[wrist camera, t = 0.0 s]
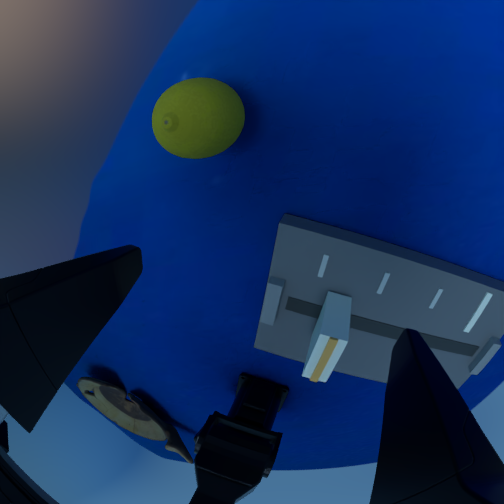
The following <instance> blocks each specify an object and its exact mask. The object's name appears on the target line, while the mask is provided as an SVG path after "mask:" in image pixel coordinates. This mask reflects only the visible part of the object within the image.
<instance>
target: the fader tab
mask: <svg viewBox="0 0 504 504" xmlns="http://www.w3.org/2000/svg"><path fill="white" fill-rule="evenodd" d="M351 301H352V298H351V297H348V296H344V295H341V294H337V293H334V292H330V291H328V293H327V296H326V299H325V302H324V304H323V307H322V310H321V313H320V315H319V318H318V320H317V323H316V326H315V328H314V331H313V333H312V337H311V341H310V346H309V350H308V354H307V358H306V361H305V365H304V369H303V373H302V376H303V377H307V378H310V381H314V382H317V381H322V382H326V381H327V379H328V378H329V376H330V374H331V372H332V371H333V369H334V367H335V365H336V363H337V362H338V360H339V358H340V356H341V354H342V352H343V350H344V349H345V347H346V345H347V343H348V339H349V328H350V316H351Z"/></svg>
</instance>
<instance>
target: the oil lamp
mask: <svg viewBox="0 0 504 504" xmlns="http://www.w3.org/2000/svg"><path fill="white" fill-rule="evenodd" d="M76 385H77V387H78V388H79V389H80V390H81V392H82V394H83V395H84V396H85V398H87V399H88V400H89V402H91V403H92V404H93V405H94V406H95V407H96V408H97V409H98V410H99V411H100V412H102V413H103V414H104V415H105V416H107V417H108V418H109V419H110V420H112V421H113V422H115V423H116V424H118V425H119V426H121V427H123V428H124V429H127V430H129V431H130V432H132V433H134V434H137V435H140V436H142V437H145V438H148V439H152V440H159V441H164V440H166V439H168V442H167V444H166V445H165V448H166V449H167V450H170V451H174V452H177V453H179V454H180V455H181V456H182V457H183V458H185V460H186V461H187V462H188V463H191V464H192V463H193V459H192V457H191V455H190V454H189V452H188V450H187V448H186V447H185V445H184V443H183V442H182V440H181V438H180V436H179V434H178V432H177V430H176V429H175V428H174V427H173V426H172V425H170V424H168V423H165V422H164V421H162V420H161V419H160V418H159V417H158V416H157V415H156V414H155V413H154V412H153V411H152V410H151V409H150V408H149V407H148V406H147V405H146V404H144V403H143V402H142V401H141V400H140V399H138V398H137V397H135V396H134V395H132V394H131V393H128V396H129V398H130V400H131V401H133V402H131V401H128V400H126V399H125V397H126V395H127V393H126V391H125V390H124V389H122V388H120V387H118V386H116V385H114V384H111V383H109V382H106V381H103V380H99V379H96V378H91V377H81V378H80V379H79V380H78V383H77V384H76ZM89 391H93V392H94V393H91V392H89Z"/></svg>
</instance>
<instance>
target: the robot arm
mask: <svg viewBox="0 0 504 504" xmlns="http://www.w3.org/2000/svg"><path fill="white" fill-rule="evenodd" d="M142 269H143V265H142V254H141V249H140V248H139V247H136V246H134V245H126V246H122V247H118V248H114V249H110V250H106V251H103V252H99V253H95V254H91V255H87V256H84V257H80V258H76V259H72V260H69V261H65V262H62V263H58V264H55V265H51V266H47V267H44V268H40V269H37V270H34V271H30V272H26V273H22V274H18V275H14V276H10V277H6V278H1V279H0V504H59V503H58V502H57V501H55V500H54V499H53V498H52V497H51V496H49V495H48V494H47V493H46V492H45V491H44V490H42V489H41V488H40V487H39V486H38V485H37V484H36V483H35V482H34V481H33V480H32V479H31V478H30V477H29V476H28V475H27V474H26V473H25V472H24V471H23V470H22V469H21V468H20V467H19V466H18V465H17V464H16V463H15V462H14V461H13V460H12V459H11V458H10V457H9V455H8V454H7V453H8V451H9V446H8V428H7V423H6V421H5V420H4V419H5V418H6V417H7V415H8V414H10V415H11V416H12V417H13V418H14V419H15V420H16V421H17V422H18V423H19V424H20V425H21V426H22V427H23V428H24V429H25V430H26V431H27V432H29V433H30V432H31V431H32V430H33V428H34V426H35V425H36V423H37V422H38V420H39V419H40V417H41V416H42V414H43V412H44V411H45V409H46V408H47V406H48V405H49V403H50V402H51V400H52V399H53V397H54V396H55V394H56V393H57V390H58V389H59V388H60V387H61V385H62V384H63V382H64V381H65V379H66V378H67V376H68V375H69V374H70V372H71V371H72V369H73V368H74V366H75V365H76V364H77V362H78V361H79V359H80V358H81V357H82V355H83V354H84V353H85V351H86V350H87V349H88V347H89V346H90V344H91V343H92V342H93V340H94V339H95V338H96V336H97V335H98V334H99V332H100V331H101V330H102V329H103V327H104V326H105V325H106V323H107V322H108V321H109V319H110V318H111V317H112V316H113V314H114V313H115V312H116V310H117V309H118V308H119V306H120V305H121V304H122V302H123V301H124V299H125V298H126V296H127V294H128V293H129V291H130V290H131V288H132V287H133V285H134V284H135V282H136V281H137V279H138V278H139V276H140V275H141V273H142ZM288 392H289V388H288V387H285V386H282V385H278V384H275V383H272V382H269V381H266V380H262V379H259V378H256V377H253V376H250V375H247V374H244V373H241V374H240V376H239V380H238V386H237V391H236V398H235V400H234V402H233V405H232V407H231V409H230V411H229V413H228V415H227V416H226V415H223V414H220V413H219V412H217V411H215V412H214V414H213V415H209V417H208V419H207V421H206V423H205V425H204V426H203V427H202V428H201V430H200V431H199V432H198V433H197V434H196V436H195V437H194V441H195V450H194V453H196V454H197V455H196V457H195V459H194V463H195V474H196V481H197V489H196V491H195V493H194V495H193V497H192V499H191V501H190V503H189V504H235V503H236V502H238V501H239V500H241V499H242V498H244V497H245V496H247V495H248V494H250V493H251V492H253V491H254V489H255V488H256V487H257V485H258V484H259V483H260V481H261V479H262V477H265V478H267V477H268V475H269V473H270V471H271V469H272V467H273V464H274V462H275V459H276V455H277V452H278V448H279V445H280V441H281V437H282V434H283V433H280V432H274V431H271V429H272V426H273V423H274V420H275V417H276V414H277V412H279V411H280V409H281V407H282V405H283V403H284V401H285V398H286V396H287V394H288ZM369 504H504V464H503V462H502V461H501V459H500V458H499V456H498V454H497V453H496V451H495V450H494V448H493V447H492V445H491V444H490V442H489V440H488V439H487V437H486V436H485V434H484V433H483V431H482V430H481V428H480V426H479V425H478V423H477V421H476V419H475V418H474V416H473V414H472V413H471V411H469V408H468V406H467V404H466V403H465V401H464V399H463V398H462V396H461V395H460V393H459V391H458V390H457V388H456V387H455V385H454V383H453V382H452V380H451V379H450V377H449V376H448V374H447V373H446V371H445V370H444V368H443V367H442V365H441V364H440V362H439V361H438V359H437V358H436V356H435V355H434V353H433V352H432V350H431V349H430V348H429V346H428V345H427V343H426V342H425V340H424V339H423V338H422V336H421V335H420V333H419V332H418V331H417V330H414V329H410V328H406V329H404V330H403V332H402V333H401V335H400V337H399V338H398V340H397V341H396V343H395V345H394V347H393V349H392V353H391V361H390V368H389V374H388V380H387V386H386V392H385V403H384V414H383V425H382V433H381V442H380V449H379V456H378V462H377V468H376V474H375V480H374V485H373V490H372V494H371V499H370V503H369Z"/></svg>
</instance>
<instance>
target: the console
mask: <svg viewBox="0 0 504 504" xmlns="http://www.w3.org/2000/svg"><path fill="white" fill-rule="evenodd" d="M328 291H330V292H334V293H337V294H341V295H344V296H348V297H351V298H352V301H351V316H350V328H349V339H348V343H347V345H346V347H345V349H344V350H343V352H342V354H341V356H340V358H339V360H338V362H337V363H336V365H335V367H334V369H333V371H337V372H341V373H345V374H349V375H353V376H357V377H362V378H366V379H370V380H375V381H380V382H384V383H387V380H388V374H389V368H390V361H391V353H392V349H393V347H394V345H395V343H396V341H397V340H398V338H399V337H400V335H401V333H402V332H403V330H404V329H406V328H410V329H414V330H417V331H418V332H419V333H420V335H421V336H422V338H423V339H424V340H425V342H426V343H427V345H428V346H429V348H430V349H431V350H432V352H433V353H434V355H435V356H436V358H437V359H438V361H439V362H440V364H441V365H442V367H443V368H444V370H445V371H446V373H447V374H448V376H449V377H450V379H451V380H452V382H453V383H454V385H455V387H456V388H457V390H458V388H459V387H460V386H461V385H462V384H463V383H464V382H465V381H466V380H467V379H468V378H469V376H470V375H471V374H475V375H478V374H479V372H480V371H481V370H482V369H483V368H484V367H485V365H486V364H487V363H488V362H489V361H490V359H491V358H492V357H493V356H494V354H495V353H496V352H497V351H498V349H499V348H500V347H501V342H500V340H499V339H500V338H501V337H502V335H503V334H504V282H502V281H499V280H497V279H494V278H491V277H489V276H486V275H483V274H480V273H478V272H475V271H472V270H469V269H467V268H464V267H461V266H458V265H455V264H452V263H449V262H446V261H443V260H440V259H437V258H434V257H431V256H428V255H425V254H422V253H419V252H416V251H413V250H410V249H407V248H404V247H401V246H397V245H394V244H391V243H388V242H384V241H381V240H378V239H375V238H371V237H368V236H365V235H361V234H358V233H354V232H351V231H347V230H344V229H340V228H337V227H333V226H330V225H326V224H323V223H319V222H315V221H312V220H308V219H304V218H301V217H297V216H293V215H289V214H284V216H283V217H282V219H281V221H280V222H279V227H278V232H277V237H276V242H275V247H274V252H273V257H272V262H271V267H270V272H269V277H268V282H267V287H266V292H265V297H264V302H263V307H262V311H261V316H260V321H259V326H258V330H257V335H256V340H255V344H254V347H255V348H258V349H261V350H264V351H267V352H270V353H273V354H276V355H280V356H283V357H286V358H290V359H293V360H296V361H300V362H303V363H305V361H306V358H307V354H308V350H309V346H310V341H311V337H312V333H313V331H314V328H315V326H316V323H317V320H318V318H319V315H320V313H321V310H322V307H323V304H324V302H325V299H326V296H327V293H328Z"/></svg>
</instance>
